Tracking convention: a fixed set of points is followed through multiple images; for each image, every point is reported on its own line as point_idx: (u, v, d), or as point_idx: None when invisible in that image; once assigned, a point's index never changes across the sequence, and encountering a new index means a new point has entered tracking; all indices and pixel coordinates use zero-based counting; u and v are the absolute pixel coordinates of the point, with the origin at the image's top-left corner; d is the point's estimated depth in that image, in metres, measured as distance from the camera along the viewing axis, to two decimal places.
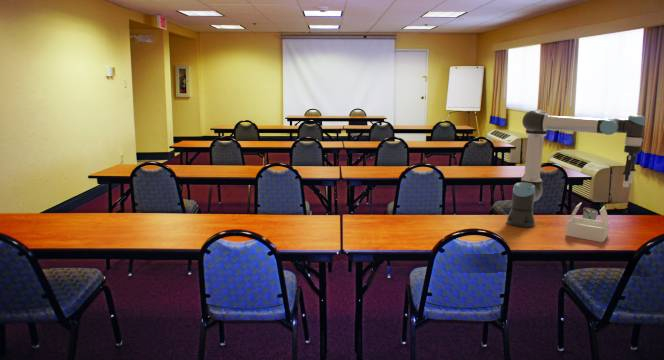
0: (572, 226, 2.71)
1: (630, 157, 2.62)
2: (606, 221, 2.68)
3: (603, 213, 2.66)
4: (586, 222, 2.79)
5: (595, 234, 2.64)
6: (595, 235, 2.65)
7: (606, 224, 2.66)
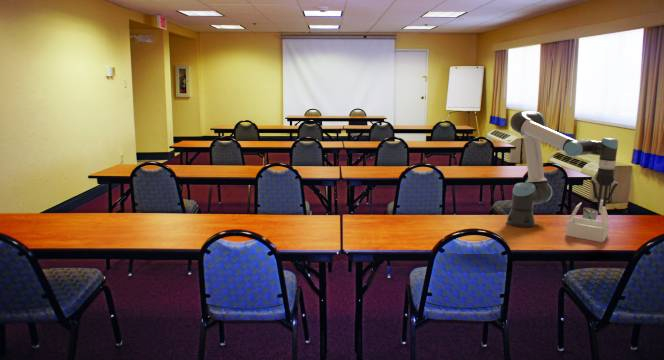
0: (572, 226, 2.71)
1: None
2: (606, 221, 2.68)
3: (603, 213, 2.66)
4: (586, 222, 2.79)
5: (595, 234, 2.64)
6: (595, 235, 2.65)
7: (606, 224, 2.66)
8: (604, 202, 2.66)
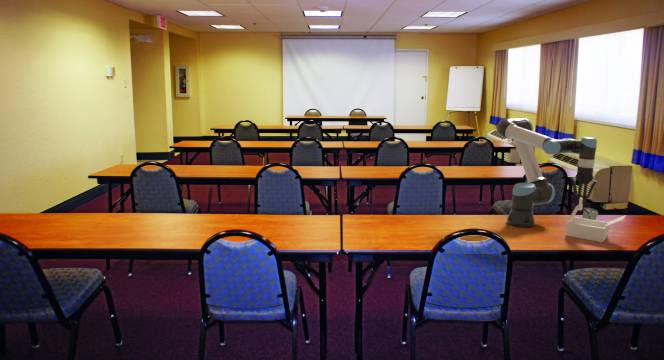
0: (572, 226, 2.71)
1: None
2: (610, 223, 2.67)
3: (618, 221, 2.62)
4: (586, 222, 2.79)
5: (595, 234, 2.64)
6: (595, 235, 2.65)
7: (607, 225, 2.66)
8: (583, 200, 2.72)
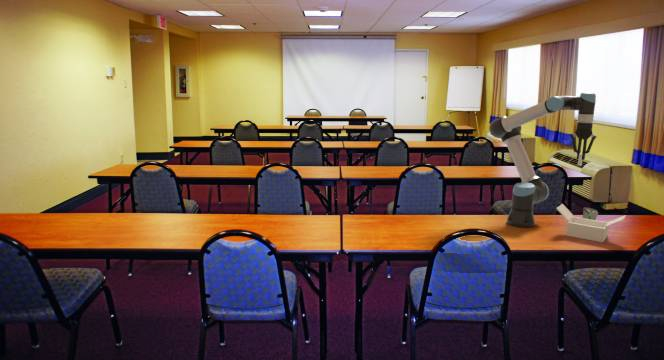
0: (572, 226, 2.71)
1: None
2: (610, 223, 2.67)
3: (618, 221, 2.62)
4: (586, 222, 2.79)
5: (595, 234, 2.64)
6: (595, 235, 2.65)
7: (607, 225, 2.66)
8: (583, 155, 2.76)
